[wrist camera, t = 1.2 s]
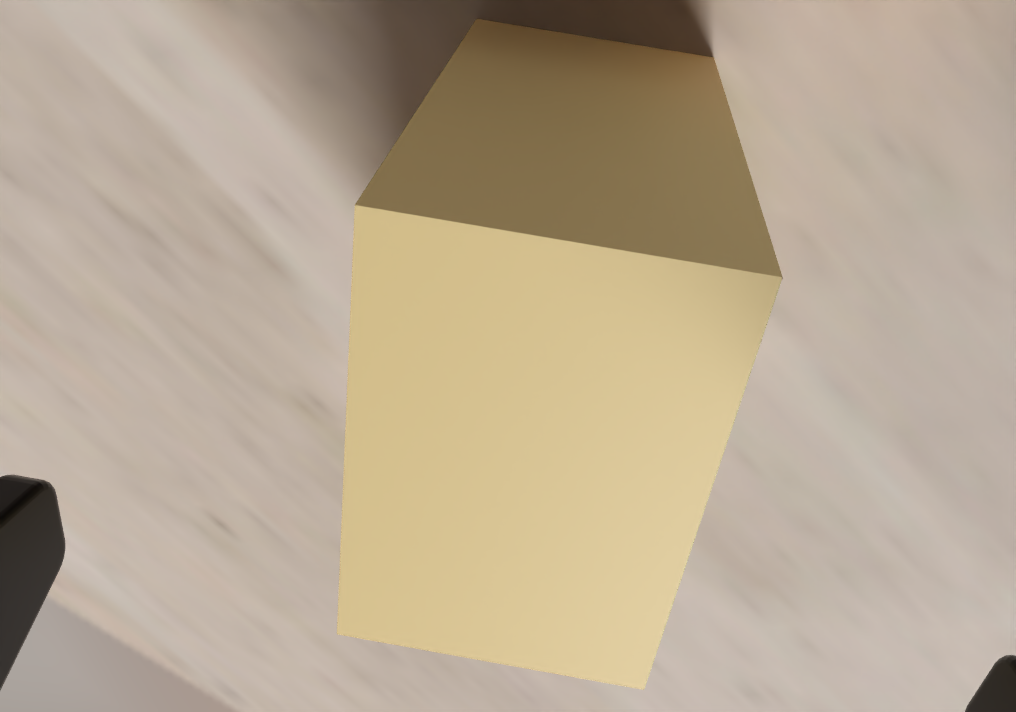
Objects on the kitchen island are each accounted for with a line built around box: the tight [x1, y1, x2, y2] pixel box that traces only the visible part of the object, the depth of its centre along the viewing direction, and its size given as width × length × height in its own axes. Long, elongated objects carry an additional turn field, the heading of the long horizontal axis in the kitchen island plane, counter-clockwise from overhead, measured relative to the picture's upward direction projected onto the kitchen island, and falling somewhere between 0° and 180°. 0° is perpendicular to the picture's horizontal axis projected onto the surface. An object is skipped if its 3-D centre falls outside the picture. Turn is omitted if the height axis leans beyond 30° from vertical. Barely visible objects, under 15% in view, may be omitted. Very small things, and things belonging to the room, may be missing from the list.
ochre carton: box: [337, 19, 782, 690], centre depth 13 cm, size 4×6×8 cm
